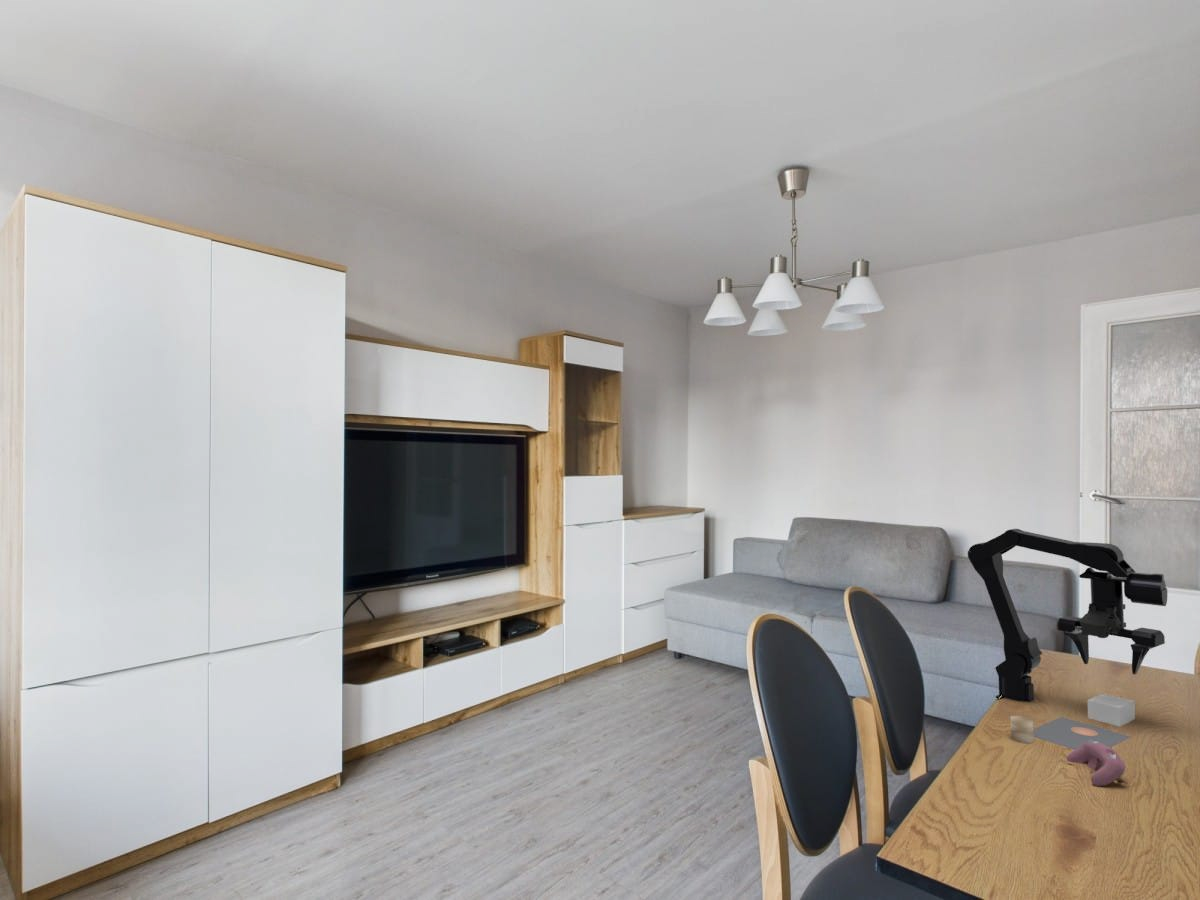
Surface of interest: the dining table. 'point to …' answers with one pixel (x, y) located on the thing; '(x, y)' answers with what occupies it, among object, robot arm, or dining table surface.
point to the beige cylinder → (1022, 729)
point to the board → (1076, 733)
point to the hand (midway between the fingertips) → (1109, 668)
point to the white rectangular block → (1111, 709)
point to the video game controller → (1099, 761)
